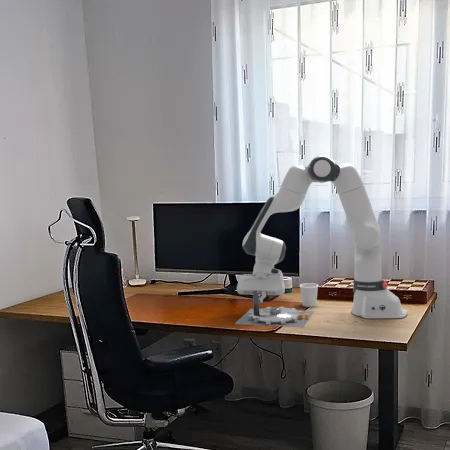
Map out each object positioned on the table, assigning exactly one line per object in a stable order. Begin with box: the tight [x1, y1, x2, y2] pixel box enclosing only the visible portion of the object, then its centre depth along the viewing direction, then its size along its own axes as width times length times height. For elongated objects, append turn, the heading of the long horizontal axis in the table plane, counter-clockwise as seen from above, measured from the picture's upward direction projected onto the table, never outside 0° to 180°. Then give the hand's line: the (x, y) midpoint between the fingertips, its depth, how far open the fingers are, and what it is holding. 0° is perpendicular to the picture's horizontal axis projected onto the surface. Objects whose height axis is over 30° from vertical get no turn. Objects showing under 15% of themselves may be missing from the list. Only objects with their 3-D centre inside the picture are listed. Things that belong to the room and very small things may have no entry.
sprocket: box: [248, 290, 304, 324], centre depth 239 cm, size 23×23×12 cm
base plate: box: [234, 308, 315, 328], centre depth 240 cm, size 28×25×3 cm
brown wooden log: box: [259, 295, 281, 303], centre depth 280 cm, size 23×5×6 cm, turn 149°
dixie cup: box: [299, 282, 319, 308], centre depth 258 cm, size 8×8×10 cm
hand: (258, 302), depth 242 cm, fingers closed
